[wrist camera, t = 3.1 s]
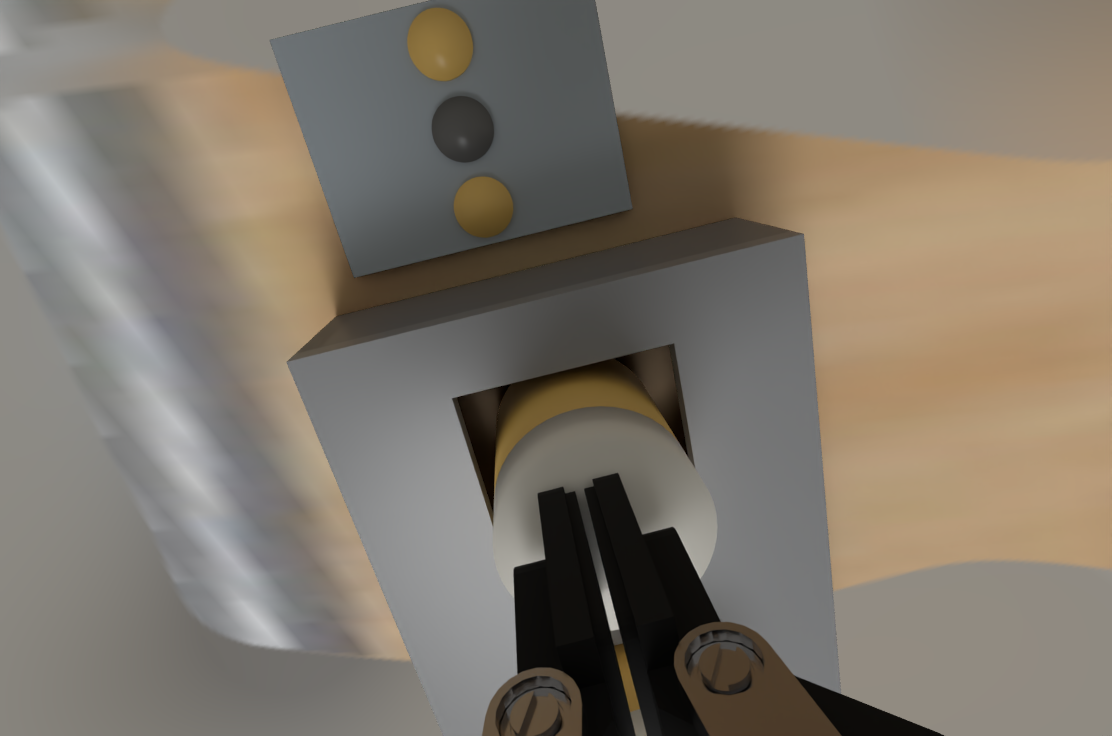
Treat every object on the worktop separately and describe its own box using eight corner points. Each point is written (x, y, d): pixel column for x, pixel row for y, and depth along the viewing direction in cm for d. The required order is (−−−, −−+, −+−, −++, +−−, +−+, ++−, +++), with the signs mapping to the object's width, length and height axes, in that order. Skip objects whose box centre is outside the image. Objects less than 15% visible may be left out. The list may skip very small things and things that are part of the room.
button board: (735, 217, 17) (803, 233, 13) (806, 803, 26) (859, 916, 22) (336, 316, 17) (286, 362, 13) (543, 869, 26) (550, 992, 22)
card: (585, -34, 15) (588, -41, 14) (629, 207, 17) (633, 209, 16) (275, 43, 15) (266, 38, 14) (357, 275, 17) (352, 278, 16)
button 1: (637, 333, 16) (700, 414, 11) (664, 474, 18) (730, 602, 13) (477, 373, 16) (464, 472, 11) (518, 510, 18) (524, 653, 13)
